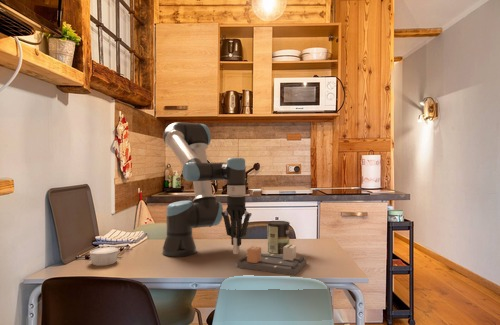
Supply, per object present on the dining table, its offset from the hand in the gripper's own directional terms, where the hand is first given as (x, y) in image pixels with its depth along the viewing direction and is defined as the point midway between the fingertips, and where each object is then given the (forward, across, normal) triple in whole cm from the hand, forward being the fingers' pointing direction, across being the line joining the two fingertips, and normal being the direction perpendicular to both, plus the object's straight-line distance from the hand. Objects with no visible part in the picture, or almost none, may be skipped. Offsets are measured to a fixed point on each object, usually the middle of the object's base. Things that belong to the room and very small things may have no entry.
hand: (236, 253), depth 140 cm
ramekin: (+5, -51, -20) cm, 55 cm away
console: (+5, +14, +4) cm, 15 cm away
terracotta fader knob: (+2, +8, 0) cm, 8 cm away
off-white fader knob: (+2, +20, +9) cm, 22 cm away
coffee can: (+5, +10, +24) cm, 26 cm away
